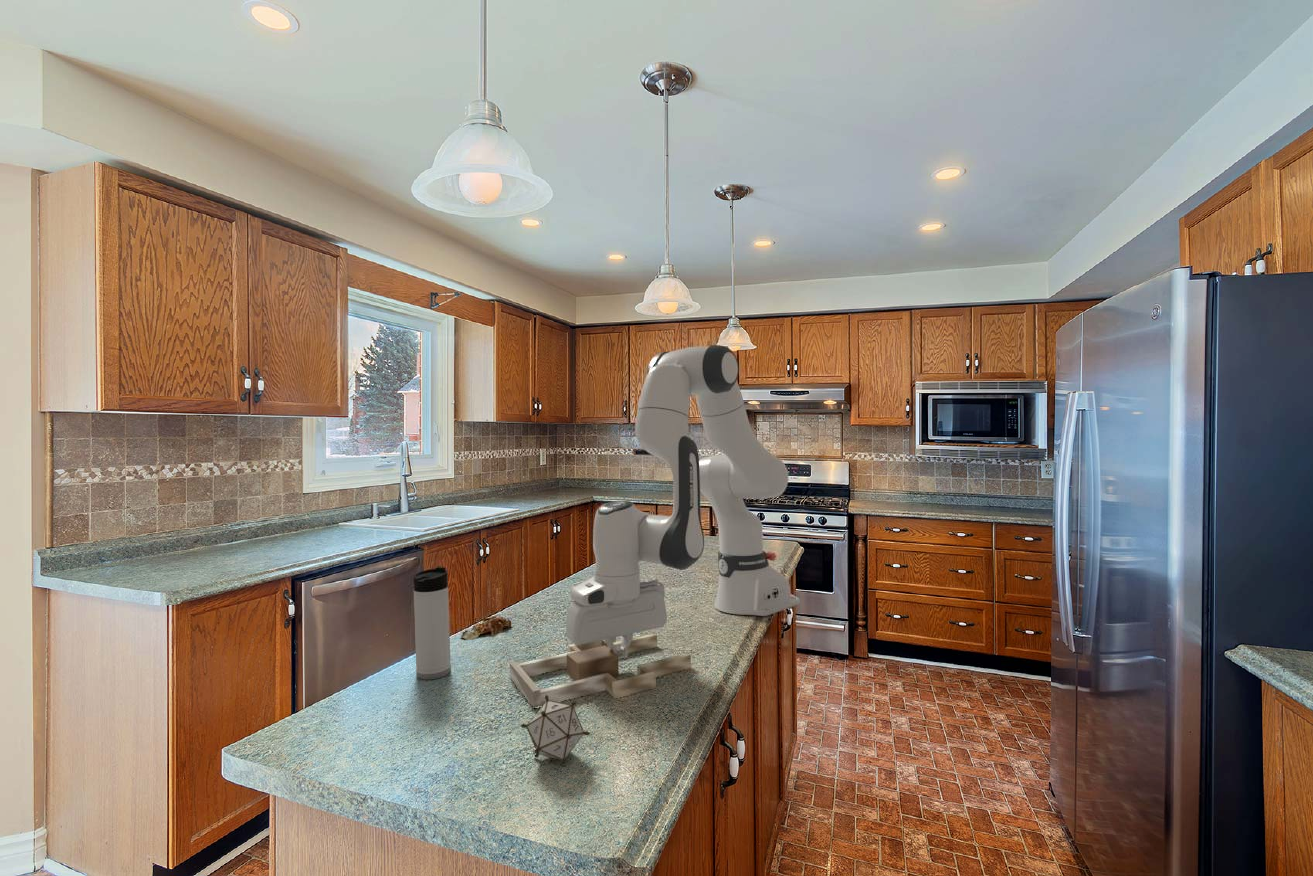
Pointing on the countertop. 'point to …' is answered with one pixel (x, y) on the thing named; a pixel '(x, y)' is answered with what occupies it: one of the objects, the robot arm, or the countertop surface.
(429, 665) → the travel mug
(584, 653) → the walnut block
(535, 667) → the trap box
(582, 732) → the game die
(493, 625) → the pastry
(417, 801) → the countertop surface
